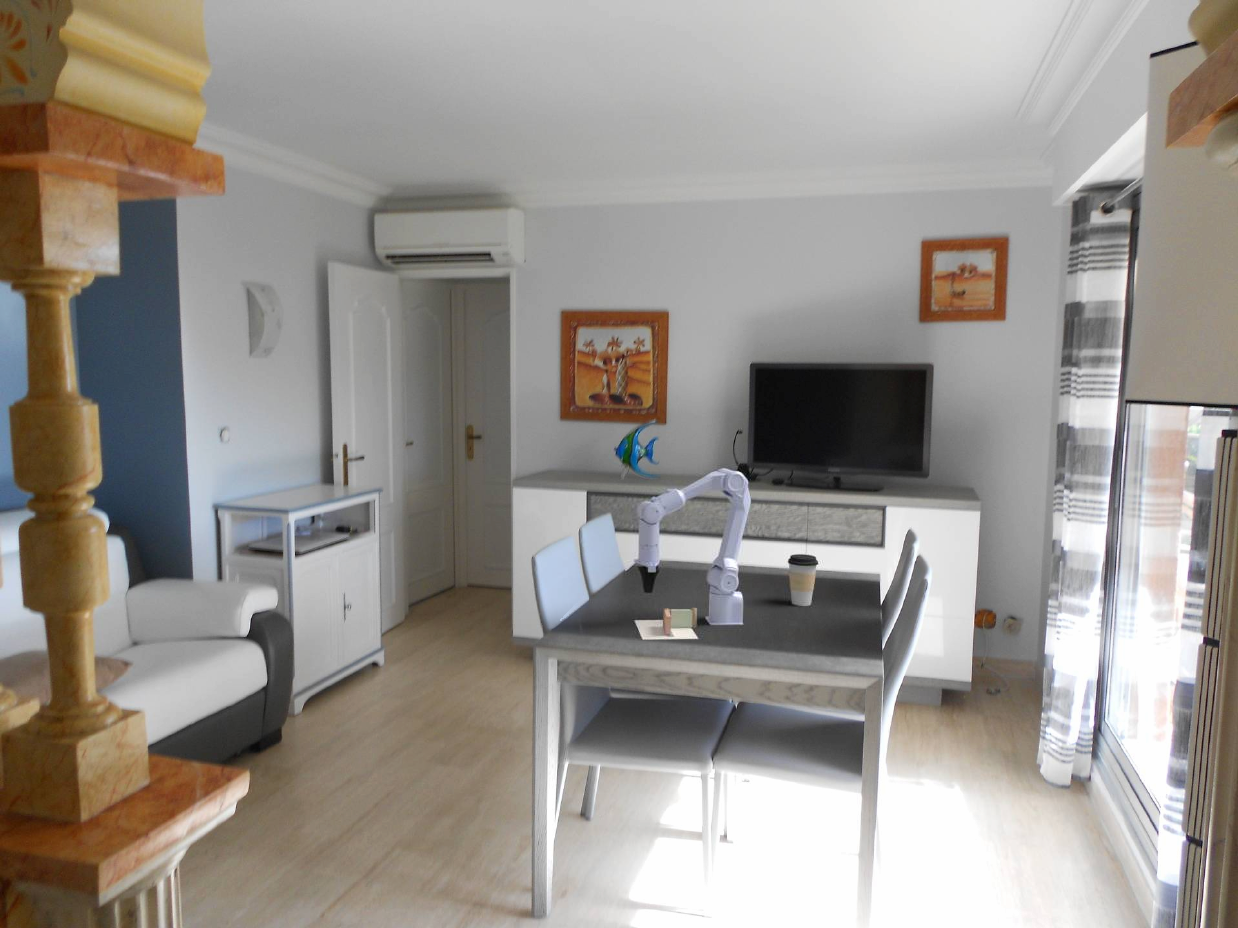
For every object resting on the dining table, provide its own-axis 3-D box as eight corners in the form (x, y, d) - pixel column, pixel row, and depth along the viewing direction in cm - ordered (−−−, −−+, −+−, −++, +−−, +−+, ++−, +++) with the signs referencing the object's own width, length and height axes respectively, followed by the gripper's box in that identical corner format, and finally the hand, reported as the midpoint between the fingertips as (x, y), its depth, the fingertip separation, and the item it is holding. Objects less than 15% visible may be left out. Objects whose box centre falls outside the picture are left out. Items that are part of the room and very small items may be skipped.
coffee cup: (782, 605, 274) (784, 557, 272) (790, 598, 282) (792, 552, 281) (813, 608, 270) (814, 560, 268) (819, 602, 278) (821, 555, 277)
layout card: (685, 620, 254) (685, 619, 254) (698, 639, 235) (698, 637, 235) (634, 621, 253) (634, 619, 253) (642, 640, 234) (642, 638, 234)
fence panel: (662, 625, 246) (663, 608, 246) (669, 625, 246) (669, 608, 246) (664, 634, 238) (665, 616, 237) (671, 634, 238) (671, 616, 237)
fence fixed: (695, 626, 247) (696, 607, 247) (697, 627, 246) (697, 608, 245) (669, 626, 246) (670, 607, 246) (670, 628, 245) (671, 609, 244)
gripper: (631, 539, 252) (630, 586, 253) (637, 549, 237) (636, 598, 239) (656, 539, 252) (655, 586, 254) (663, 549, 238) (662, 598, 239)
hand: (648, 592), depth 246 cm, fingers closed
